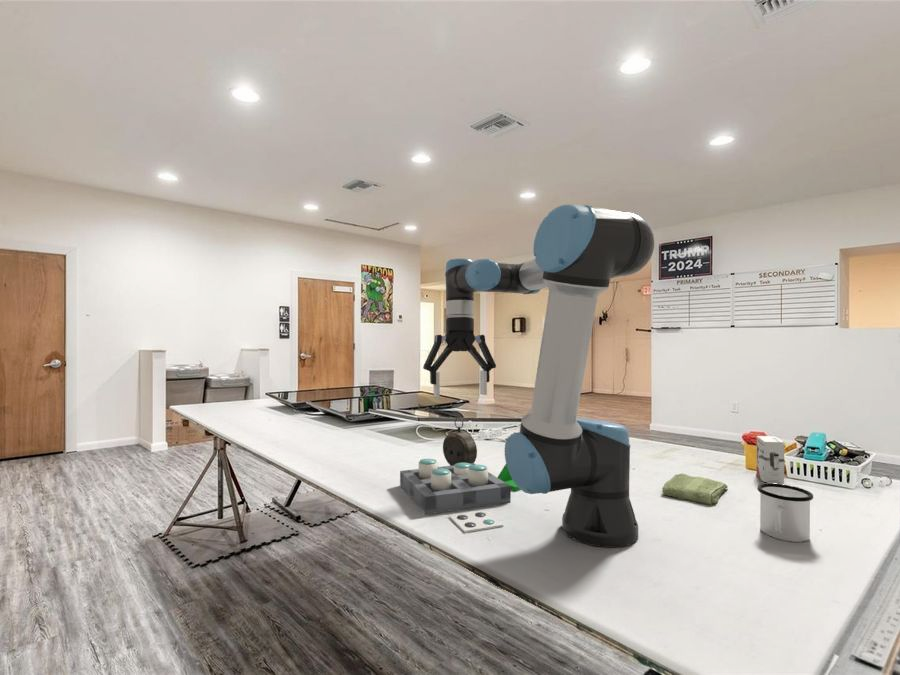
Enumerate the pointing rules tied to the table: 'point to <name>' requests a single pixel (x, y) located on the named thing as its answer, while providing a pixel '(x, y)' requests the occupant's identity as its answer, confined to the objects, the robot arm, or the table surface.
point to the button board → (453, 492)
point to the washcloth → (694, 488)
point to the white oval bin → (785, 512)
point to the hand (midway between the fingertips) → (460, 395)
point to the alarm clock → (459, 447)
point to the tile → (475, 521)
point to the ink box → (770, 459)
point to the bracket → (508, 478)
